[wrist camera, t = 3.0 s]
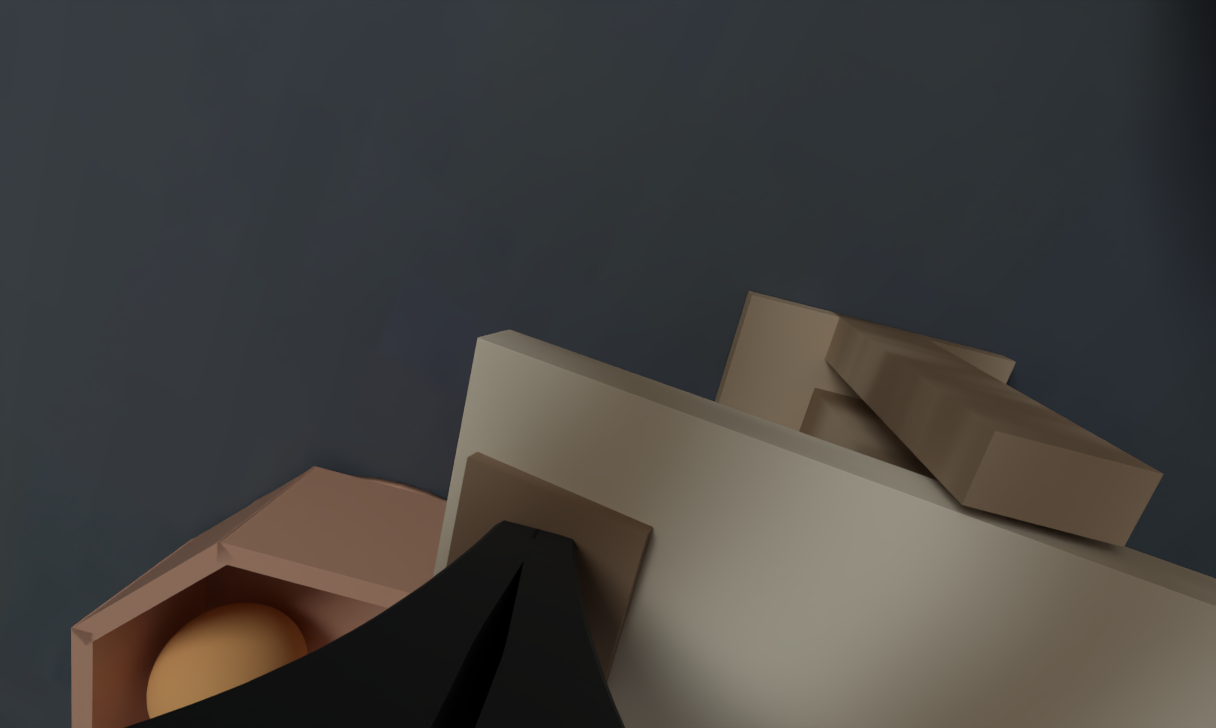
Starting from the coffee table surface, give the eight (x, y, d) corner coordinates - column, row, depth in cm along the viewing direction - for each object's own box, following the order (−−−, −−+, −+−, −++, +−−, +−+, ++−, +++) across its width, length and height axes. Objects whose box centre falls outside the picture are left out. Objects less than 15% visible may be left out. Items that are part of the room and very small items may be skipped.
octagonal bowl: (602, 535, 17) (583, 638, 13) (521, 835, 20) (486, 992, 16) (205, 430, 17) (69, 501, 13) (186, 743, 20) (71, 875, 16)
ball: (294, 562, 18) (333, 646, 16) (283, 661, 19) (318, 754, 17) (141, 593, 16) (158, 697, 13) (137, 704, 17) (152, 820, 14)
